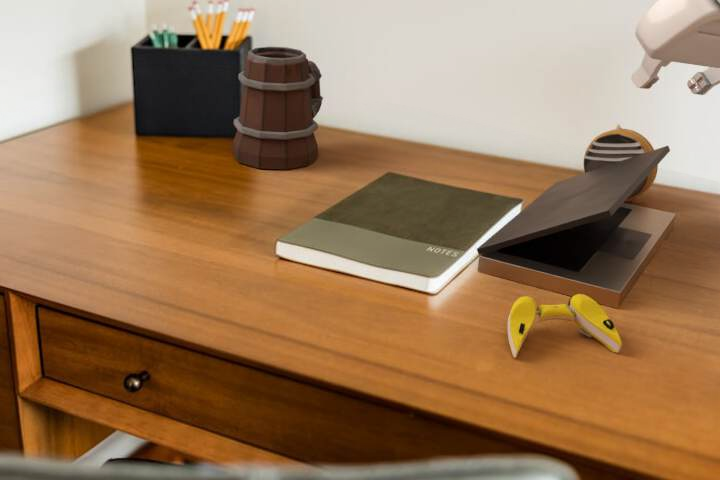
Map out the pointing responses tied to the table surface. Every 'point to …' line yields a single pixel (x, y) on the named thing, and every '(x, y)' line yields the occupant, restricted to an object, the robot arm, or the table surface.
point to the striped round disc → (619, 153)
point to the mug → (278, 109)
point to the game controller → (577, 310)
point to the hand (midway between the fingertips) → (666, 87)
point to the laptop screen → (577, 201)
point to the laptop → (587, 255)
